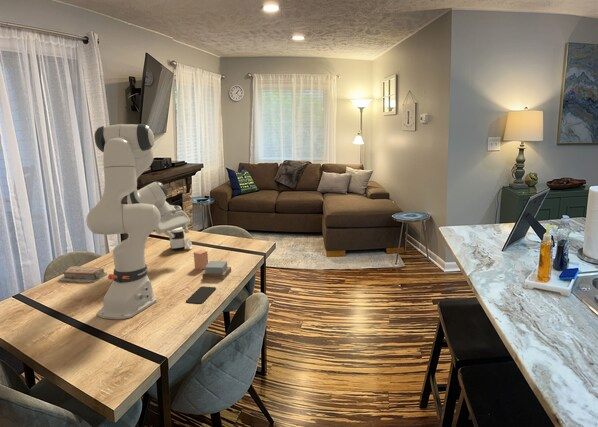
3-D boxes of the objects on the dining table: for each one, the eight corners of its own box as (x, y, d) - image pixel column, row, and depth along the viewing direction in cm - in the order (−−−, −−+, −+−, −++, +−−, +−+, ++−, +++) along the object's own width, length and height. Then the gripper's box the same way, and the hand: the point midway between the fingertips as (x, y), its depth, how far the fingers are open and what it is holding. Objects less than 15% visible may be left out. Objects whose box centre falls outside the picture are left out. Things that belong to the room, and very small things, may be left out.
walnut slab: (223, 281, 179) (223, 274, 179) (202, 280, 181) (202, 273, 180) (231, 272, 189) (231, 266, 188) (211, 271, 191) (210, 265, 190)
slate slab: (222, 273, 180) (222, 267, 179) (205, 273, 181) (204, 267, 180) (227, 267, 188) (227, 261, 187) (210, 267, 188) (210, 260, 188)
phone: (184, 301, 157) (200, 286, 172) (184, 303, 158) (201, 287, 172) (201, 303, 156) (217, 287, 170) (202, 305, 156) (217, 289, 170)
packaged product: (106, 265, 187) (92, 273, 177) (108, 275, 188) (94, 283, 178) (72, 263, 190) (56, 271, 180) (74, 273, 191) (58, 281, 182)
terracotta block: (201, 269, 191) (200, 253, 189) (194, 268, 194) (193, 252, 192) (208, 266, 195) (207, 251, 193) (201, 265, 197) (200, 249, 195)
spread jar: (169, 247, 226) (167, 227, 223) (190, 244, 231) (188, 224, 228) (172, 253, 216) (170, 232, 213) (194, 250, 220) (192, 229, 217)
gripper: (150, 214, 189) (166, 236, 187) (182, 205, 206) (198, 226, 204) (144, 222, 192) (161, 244, 190) (177, 213, 210) (192, 233, 207)
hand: (180, 235), depth 197 cm, fingers open, 8 cm apart
